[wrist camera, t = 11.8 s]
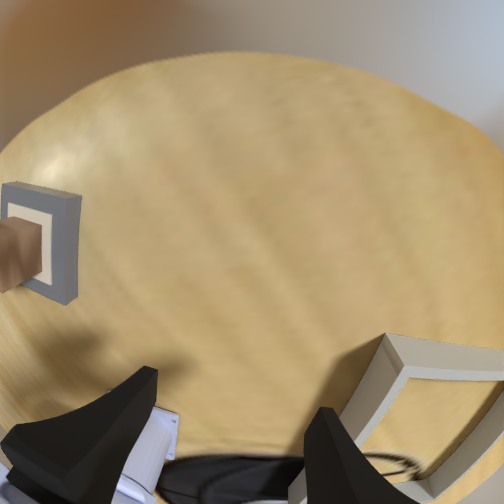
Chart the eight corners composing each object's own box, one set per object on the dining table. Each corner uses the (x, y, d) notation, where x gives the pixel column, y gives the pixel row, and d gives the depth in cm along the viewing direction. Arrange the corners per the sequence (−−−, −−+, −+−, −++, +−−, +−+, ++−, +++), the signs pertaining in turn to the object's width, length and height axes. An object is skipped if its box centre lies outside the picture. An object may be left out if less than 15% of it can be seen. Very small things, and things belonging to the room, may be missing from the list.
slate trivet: (77, 296, 22) (64, 306, 20) (15, 269, 23) (2, 276, 20) (81, 195, 20) (65, 198, 18) (16, 181, 20) (0, 183, 18)
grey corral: (427, 481, 28) (434, 500, 24) (288, 487, 29) (288, 514, 24) (529, 352, 21) (548, 370, 17) (385, 332, 21) (404, 365, 17)
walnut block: (42, 271, 20) (2, 293, 15) (14, 259, 20) (-24, 277, 15) (41, 225, 19) (-2, 240, 14) (13, 216, 19) (-28, 228, 14)
